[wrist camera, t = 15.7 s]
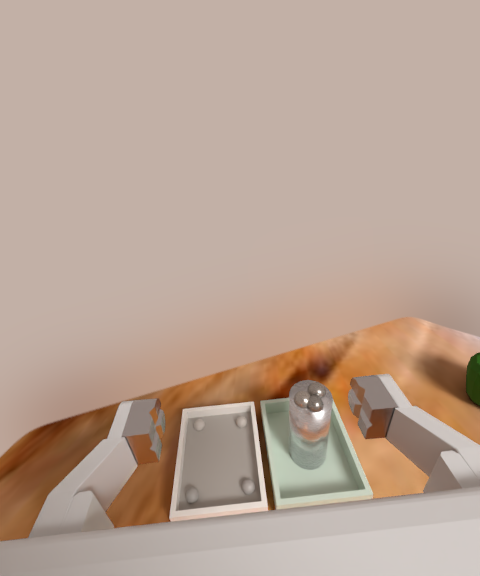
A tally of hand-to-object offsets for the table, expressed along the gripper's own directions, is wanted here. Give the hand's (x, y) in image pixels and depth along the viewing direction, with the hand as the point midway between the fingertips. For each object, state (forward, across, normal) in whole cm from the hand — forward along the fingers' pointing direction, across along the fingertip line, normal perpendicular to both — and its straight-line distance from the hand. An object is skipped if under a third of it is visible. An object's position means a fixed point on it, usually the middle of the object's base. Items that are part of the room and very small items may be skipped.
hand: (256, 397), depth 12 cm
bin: (+14, -7, +30) cm, 34 cm away
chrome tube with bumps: (+14, -7, +29) cm, 33 cm away
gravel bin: (+14, +5, +30) cm, 33 cm away
